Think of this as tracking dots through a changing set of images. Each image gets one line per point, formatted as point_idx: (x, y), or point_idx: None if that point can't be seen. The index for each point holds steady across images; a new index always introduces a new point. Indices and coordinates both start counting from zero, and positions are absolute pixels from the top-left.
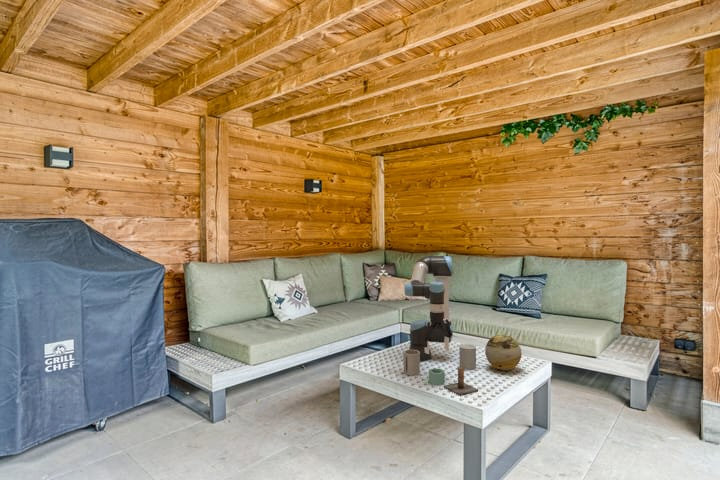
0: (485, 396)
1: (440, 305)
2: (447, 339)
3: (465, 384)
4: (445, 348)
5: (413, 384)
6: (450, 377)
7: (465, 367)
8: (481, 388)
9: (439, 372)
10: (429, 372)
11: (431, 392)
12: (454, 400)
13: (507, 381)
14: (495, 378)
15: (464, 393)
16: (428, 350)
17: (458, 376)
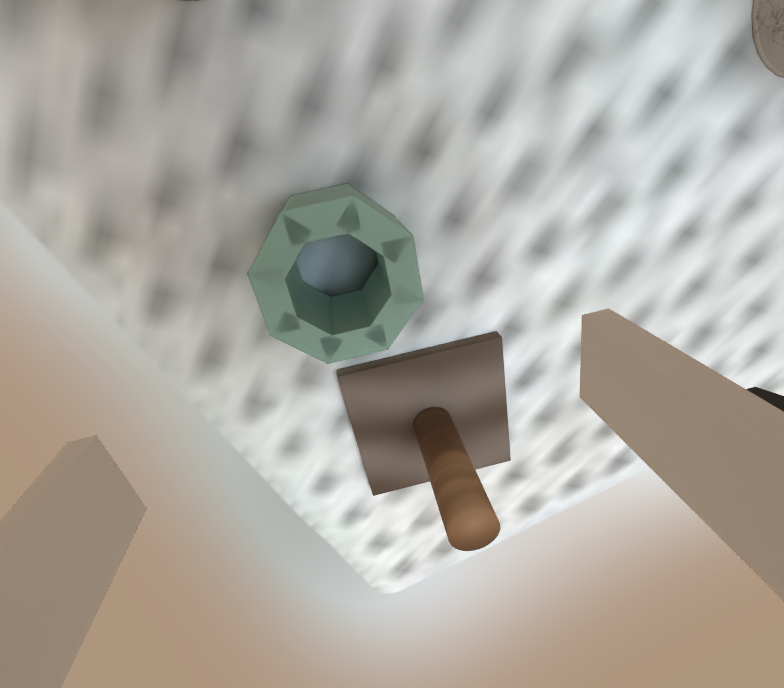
0: (492, 506)
1: None
2: (762, 561)
3: (492, 386)
4: (588, 346)
5: (108, 242)
6: (503, 191)
7: (778, 40)
8: (550, 424)
9: (381, 256)
10: (254, 285)
11: (218, 414)
12: (312, 521)
13: (757, 372)
14: (751, 312)
15: (404, 485)
16: (103, 569)
17: (431, 483)
